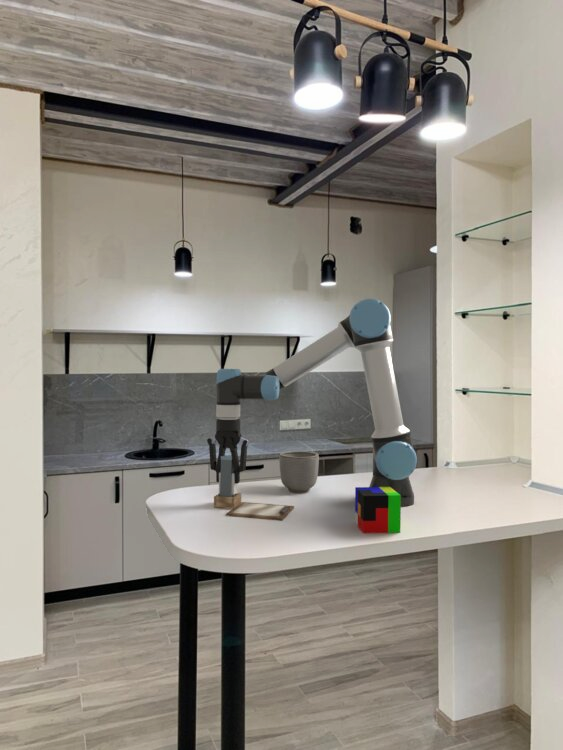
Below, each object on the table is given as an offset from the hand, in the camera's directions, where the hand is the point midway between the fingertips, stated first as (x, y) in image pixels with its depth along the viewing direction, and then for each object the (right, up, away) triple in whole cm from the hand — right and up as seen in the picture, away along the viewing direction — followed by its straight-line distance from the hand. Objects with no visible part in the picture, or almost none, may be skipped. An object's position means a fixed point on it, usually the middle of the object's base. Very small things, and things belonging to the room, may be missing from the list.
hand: (227, 492), depth 171 cm
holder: (0, -4, 0) cm, 4 cm away
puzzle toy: (+43, -5, -21) cm, 48 cm away
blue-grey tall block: (0, -2, -1) cm, 2 cm away
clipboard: (+11, -4, -6) cm, 13 cm away
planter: (+23, -4, +21) cm, 31 cm away
